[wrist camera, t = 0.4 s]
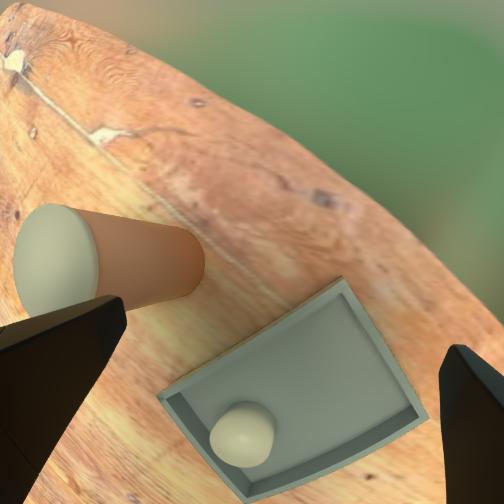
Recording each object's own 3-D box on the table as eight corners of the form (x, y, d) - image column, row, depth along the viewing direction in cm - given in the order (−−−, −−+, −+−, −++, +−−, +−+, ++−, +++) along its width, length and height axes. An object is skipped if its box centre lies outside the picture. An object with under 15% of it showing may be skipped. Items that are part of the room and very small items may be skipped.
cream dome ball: (242, 454, 23) (232, 474, 20) (211, 414, 23) (197, 432, 20) (288, 434, 22) (282, 454, 19) (256, 392, 23) (247, 409, 20)
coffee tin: (165, 311, 25) (42, 349, 12) (131, 253, 26) (2, 251, 13) (219, 272, 24) (111, 288, 11) (180, 212, 25) (59, 177, 12)
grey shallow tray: (252, 484, 23) (245, 504, 20) (172, 382, 25) (155, 395, 22) (419, 401, 21) (429, 418, 18) (341, 275, 22) (344, 278, 19)
